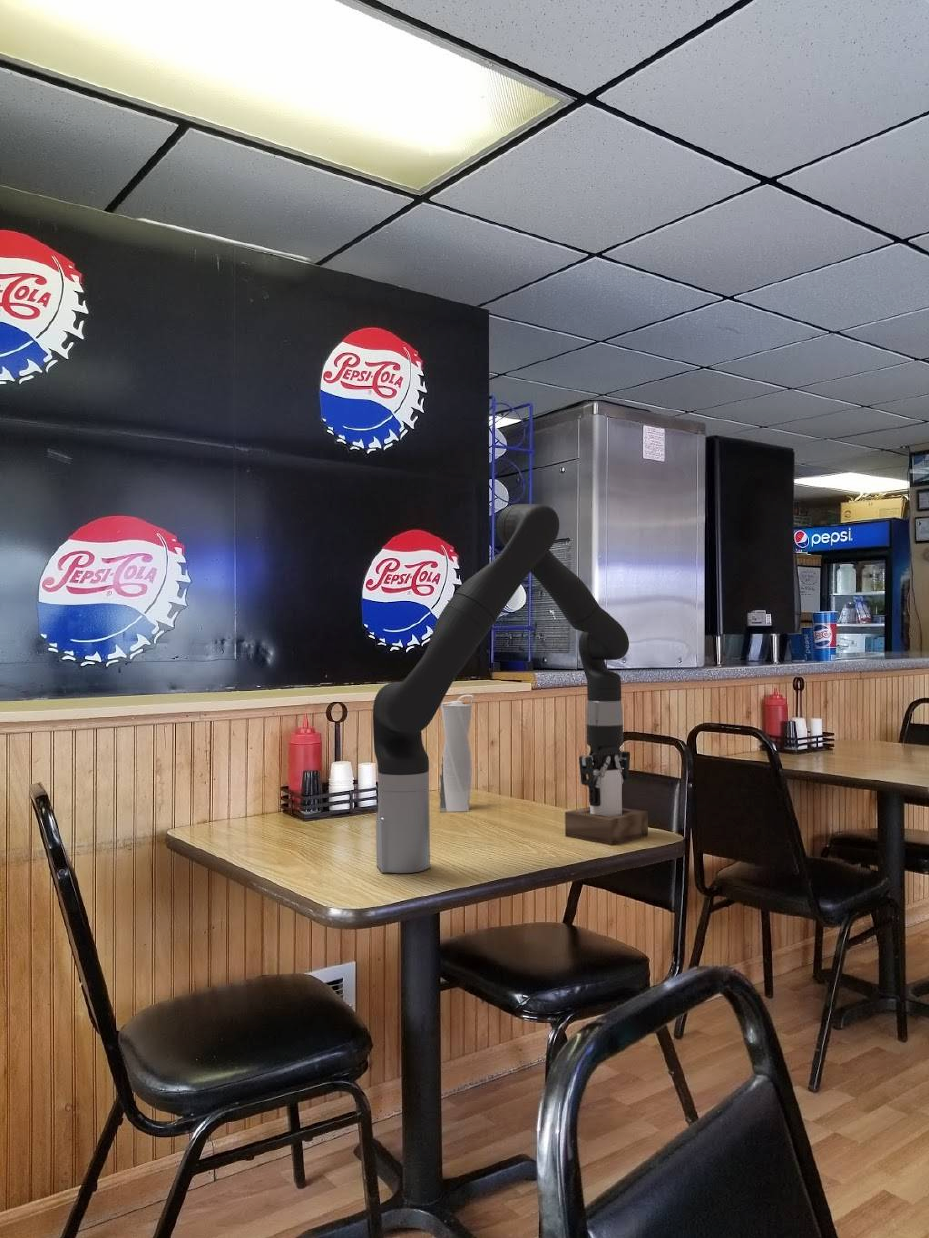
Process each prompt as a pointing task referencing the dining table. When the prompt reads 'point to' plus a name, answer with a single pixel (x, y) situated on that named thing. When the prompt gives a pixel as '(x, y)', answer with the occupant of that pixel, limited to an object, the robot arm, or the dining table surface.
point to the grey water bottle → (456, 757)
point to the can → (609, 794)
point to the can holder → (606, 826)
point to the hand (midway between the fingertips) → (605, 803)
